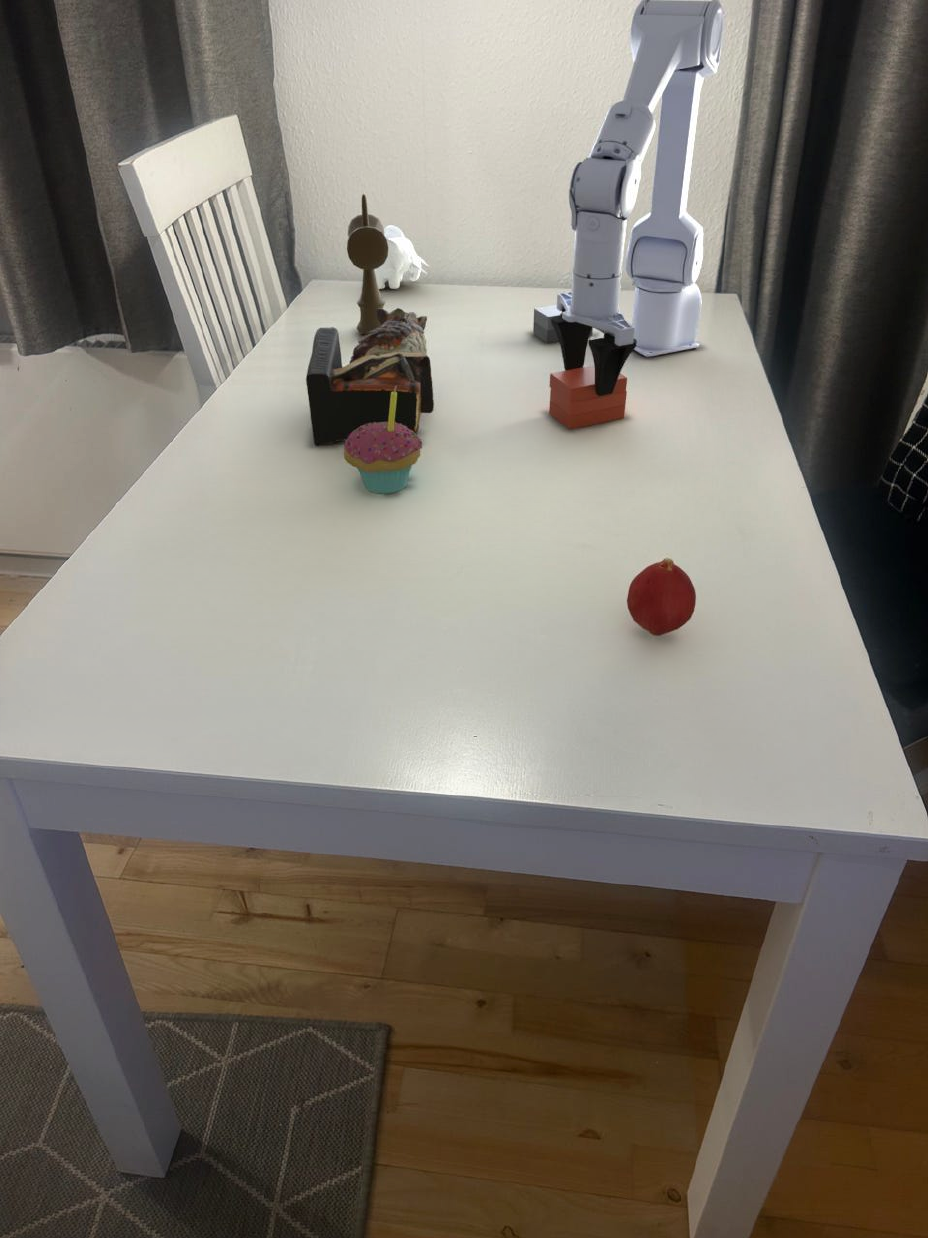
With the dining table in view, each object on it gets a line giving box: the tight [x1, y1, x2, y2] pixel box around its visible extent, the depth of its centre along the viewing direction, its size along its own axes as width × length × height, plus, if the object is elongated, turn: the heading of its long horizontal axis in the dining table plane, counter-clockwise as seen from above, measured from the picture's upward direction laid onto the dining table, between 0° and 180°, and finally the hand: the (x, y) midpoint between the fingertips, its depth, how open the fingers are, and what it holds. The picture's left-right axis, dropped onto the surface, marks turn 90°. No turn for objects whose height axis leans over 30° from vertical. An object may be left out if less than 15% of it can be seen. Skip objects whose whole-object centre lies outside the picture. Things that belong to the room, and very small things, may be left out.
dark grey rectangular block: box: [532, 321, 594, 344], centre depth 140 cm, size 8×4×2 cm, turn 115°
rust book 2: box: [549, 388, 628, 416], centre depth 116 cm, size 8×5×2 cm
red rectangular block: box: [548, 400, 626, 430], centre depth 117 cm, size 8×5×2 cm
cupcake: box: [343, 386, 423, 495], centre depth 100 cm, size 9×8×12 cm
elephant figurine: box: [374, 224, 430, 290], centre depth 159 cm, size 10×12×9 cm
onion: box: [626, 557, 697, 637], centre depth 79 cm, size 6×6×8 cm
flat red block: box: [549, 364, 628, 402], centre depth 115 cm, size 8×5×2 cm
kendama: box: [346, 193, 389, 336], centre depth 137 cm, size 6×10×20 cm, turn 7°
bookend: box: [305, 308, 435, 446], centre depth 118 cm, size 15×11×25 cm
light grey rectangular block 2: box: [533, 304, 562, 330], centre depth 139 cm, size 8×4×2 cm, turn 115°
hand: (588, 382), depth 115 cm, fingers open, 7 cm apart
